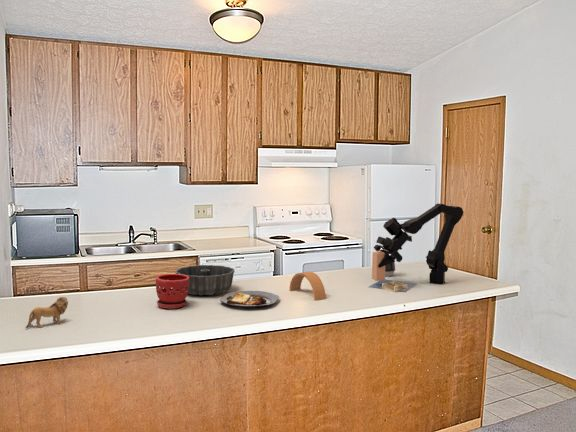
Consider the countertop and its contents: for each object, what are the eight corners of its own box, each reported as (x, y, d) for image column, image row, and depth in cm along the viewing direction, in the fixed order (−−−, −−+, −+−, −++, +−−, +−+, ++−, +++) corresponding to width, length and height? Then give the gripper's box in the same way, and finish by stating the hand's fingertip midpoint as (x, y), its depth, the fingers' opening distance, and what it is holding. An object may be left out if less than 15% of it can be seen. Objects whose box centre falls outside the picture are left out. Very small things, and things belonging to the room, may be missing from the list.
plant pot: (170, 312, 191) (170, 281, 190) (149, 306, 199) (148, 277, 198) (196, 305, 202) (196, 276, 200) (175, 299, 209) (174, 271, 208)
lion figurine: (64, 318, 182) (64, 294, 181) (71, 321, 179) (70, 297, 178) (22, 328, 171) (21, 302, 170) (28, 331, 168) (27, 305, 167)
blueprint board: (417, 284, 241) (417, 283, 241) (405, 293, 224) (405, 292, 224) (382, 280, 250) (382, 279, 250) (367, 288, 233) (367, 287, 233)
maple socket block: (394, 286, 235) (394, 281, 234) (407, 289, 228) (407, 284, 228) (382, 288, 230) (382, 283, 230) (394, 292, 224) (395, 287, 223)
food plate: (269, 312, 192) (269, 303, 192) (212, 309, 197) (212, 300, 197) (283, 297, 217) (283, 289, 217) (232, 295, 221) (232, 287, 221)
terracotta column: (380, 278, 239) (381, 250, 237) (384, 280, 234) (385, 251, 233) (371, 278, 237) (372, 250, 236) (376, 281, 233) (377, 252, 232)
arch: (314, 301, 210) (315, 277, 209) (289, 290, 227) (289, 269, 226) (325, 299, 213) (326, 276, 212) (299, 289, 230) (300, 268, 229)
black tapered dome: (397, 275, 261) (398, 246, 260) (390, 279, 252) (391, 249, 251) (379, 273, 266) (380, 245, 265) (371, 276, 258) (372, 247, 256)
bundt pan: (198, 282, 241) (198, 262, 240) (245, 288, 230) (245, 267, 229) (162, 294, 218) (162, 272, 217) (212, 302, 206) (212, 278, 205)
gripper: (377, 228, 244) (356, 251, 241) (397, 233, 226) (374, 258, 224) (391, 243, 247) (370, 266, 245) (411, 249, 229) (389, 274, 227)
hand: (376, 266), depth 235 cm, fingers closed on terracotta column, 4 cm apart
